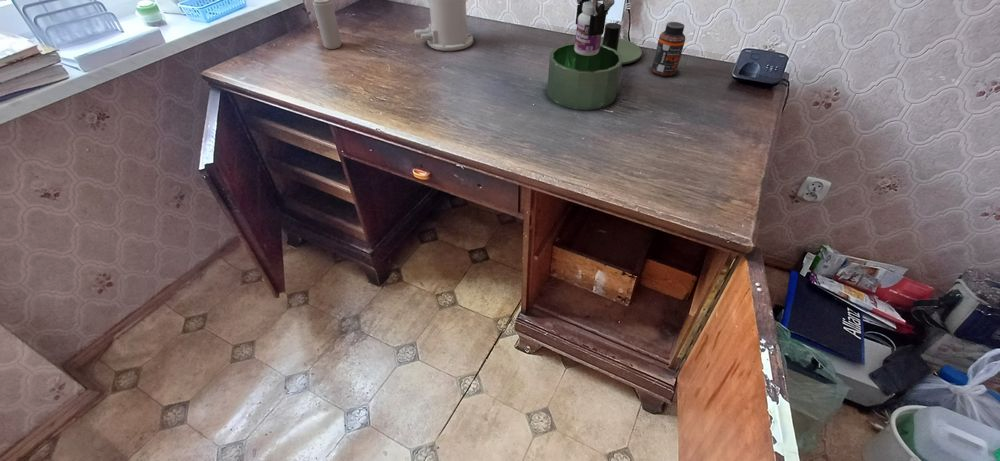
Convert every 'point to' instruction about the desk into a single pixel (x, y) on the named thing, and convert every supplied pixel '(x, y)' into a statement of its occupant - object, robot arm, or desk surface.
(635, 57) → the tin lid
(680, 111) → the desk surface
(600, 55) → the waste tin
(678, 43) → the supplement bottle
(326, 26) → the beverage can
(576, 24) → the robot arm
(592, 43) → the pill bottle
